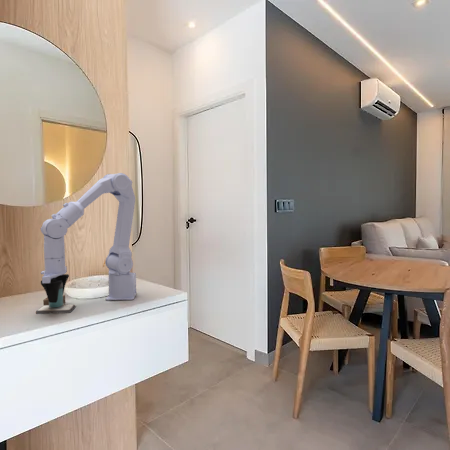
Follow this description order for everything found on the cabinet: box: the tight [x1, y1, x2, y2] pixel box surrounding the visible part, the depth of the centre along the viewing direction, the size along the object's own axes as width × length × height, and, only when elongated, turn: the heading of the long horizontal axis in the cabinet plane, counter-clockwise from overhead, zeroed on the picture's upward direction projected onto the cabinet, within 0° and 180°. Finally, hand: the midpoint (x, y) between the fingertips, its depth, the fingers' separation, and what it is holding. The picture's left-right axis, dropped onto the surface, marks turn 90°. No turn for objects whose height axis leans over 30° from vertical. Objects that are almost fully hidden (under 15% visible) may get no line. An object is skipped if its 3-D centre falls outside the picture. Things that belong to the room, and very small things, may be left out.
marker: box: [49, 282, 64, 307], centre depth 102 cm, size 4×4×7 cm
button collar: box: [42, 294, 66, 306], centre depth 108 cm, size 5×5×2 cm
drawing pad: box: [35, 304, 77, 315], centre depth 103 cm, size 10×5×1 cm, turn 97°
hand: (56, 299), depth 103 cm, fingers closed on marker, 4 cm apart
